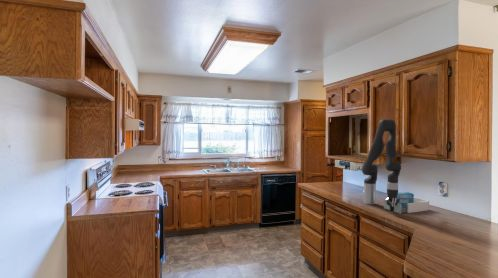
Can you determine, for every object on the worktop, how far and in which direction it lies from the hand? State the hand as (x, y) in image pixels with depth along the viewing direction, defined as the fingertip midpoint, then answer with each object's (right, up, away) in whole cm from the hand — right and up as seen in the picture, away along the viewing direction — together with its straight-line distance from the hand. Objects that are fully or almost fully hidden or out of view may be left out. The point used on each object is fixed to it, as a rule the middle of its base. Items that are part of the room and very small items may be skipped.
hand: (391, 211), depth 217 cm
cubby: (+20, -1, +12) cm, 24 cm away
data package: (+15, 0, +10) cm, 18 cm away
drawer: (+12, -1, +9) cm, 15 cm away
